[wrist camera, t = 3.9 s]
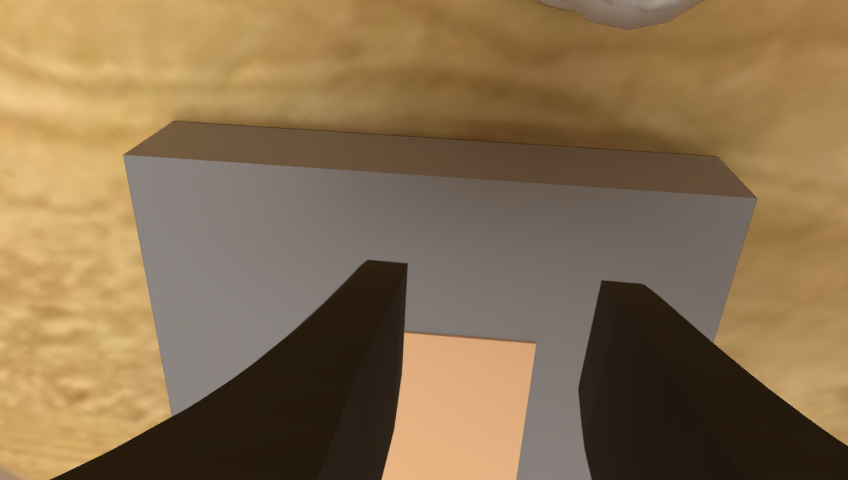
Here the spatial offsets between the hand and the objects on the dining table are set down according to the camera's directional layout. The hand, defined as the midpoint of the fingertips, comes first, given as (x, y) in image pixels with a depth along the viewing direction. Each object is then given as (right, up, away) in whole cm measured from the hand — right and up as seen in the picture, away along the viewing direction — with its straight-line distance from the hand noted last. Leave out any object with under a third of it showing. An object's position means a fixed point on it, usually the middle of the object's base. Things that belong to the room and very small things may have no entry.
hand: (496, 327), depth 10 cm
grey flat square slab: (-1, -3, +13) cm, 13 cm away
